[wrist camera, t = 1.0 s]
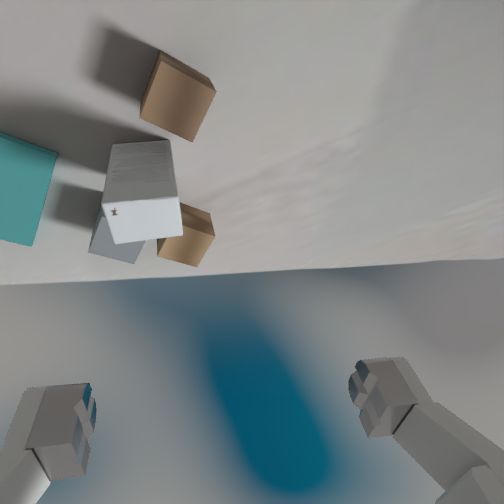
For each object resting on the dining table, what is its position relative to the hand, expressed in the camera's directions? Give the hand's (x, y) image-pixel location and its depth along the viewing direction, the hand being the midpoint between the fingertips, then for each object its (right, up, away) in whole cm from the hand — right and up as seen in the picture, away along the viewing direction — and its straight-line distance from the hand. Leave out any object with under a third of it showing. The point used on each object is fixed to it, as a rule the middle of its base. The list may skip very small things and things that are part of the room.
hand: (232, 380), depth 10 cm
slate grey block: (-15, +8, +30) cm, 35 cm away
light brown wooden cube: (-8, +8, +33) cm, 35 cm away
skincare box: (-11, +14, +27) cm, 32 cm away
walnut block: (-7, +20, +23) cm, 31 cm away
